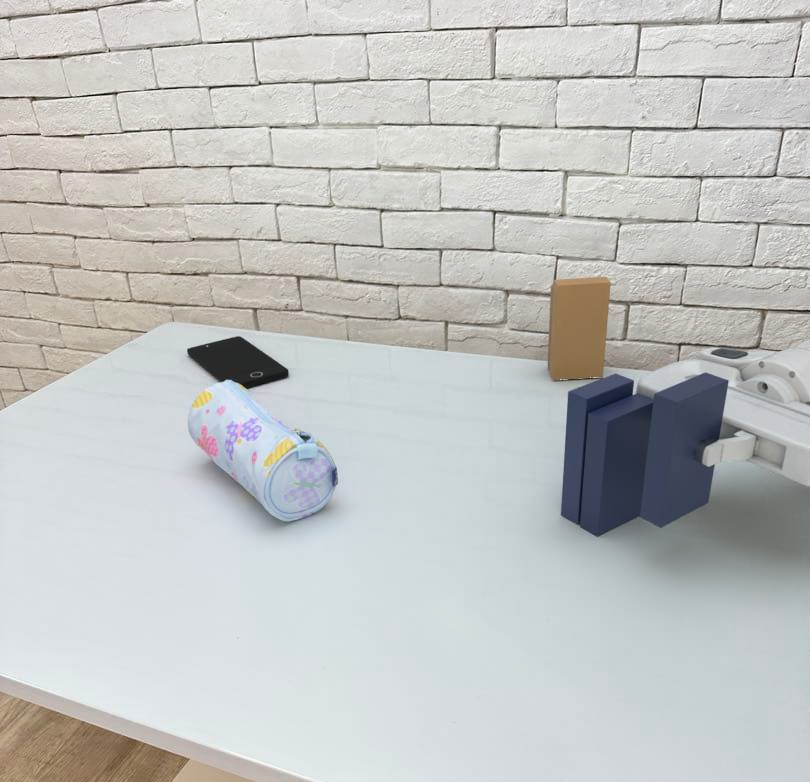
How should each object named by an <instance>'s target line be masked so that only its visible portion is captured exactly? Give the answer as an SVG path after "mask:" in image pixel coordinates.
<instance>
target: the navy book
mask: <svg viewBox="0 0 810 782" xmlns="http://www.w3.org/2000/svg"><path fill="white" fill-rule="evenodd" d="M728 383H729V380H726V379H723V378H720V377H718V376H715V375H712V374H709V373H706V372H705V373H702V374H700V375H698V376H695V377H693V378H691V379H688V380H686V381H683V382H681V383H679V384H676V385H674V386H671V387H669V388H667V389H664V390H662V391H660V392H657V393H655V394H654V400H653V409H652V417H651V426H650V435H649V443H648V452H647V460H646V469H645V478H644V486H643V495H642V503H641V512H640V515H639V517H640V519H642V520H644V521H646V522H649V523H650V524H652V525H654V526H656V527H658V528H660V529H662V528H663V527H666V526H668V525H670V524H671V523H673V522H675V521H677V520H679V519H681V518H682V517H685V516H687V515H688V514H690V513H692V512H694V511H696V510H697V509H699V508H702V507H703V506H705V505H707V504H709V501H710V496H711V490H712V483H713V477H714V471H715V466H716V464H714V465H712V466H710V467H707V466H705V465H703V464H701V463H699V462H697V461H695V460H694V454H695V447H696V445H697V444H698V443H699V442H701V441H704V440H705V439H707V438H711V439H714V440H719V436H720V430H721V424H722V418H723V412H724V406H725V401H726V395H727V389H728Z"/></svg>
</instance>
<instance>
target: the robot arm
mask: <svg viewBox="0 0 810 782" xmlns="http://www.w3.org/2000/svg"><path fill="white" fill-rule="evenodd" d="M705 372H706V373H709V374H712V375H715V376H718V377H720V378H723V379H726V380H729V383H728V389H727V395H726V401H725V406H724V412H723V418H722V424H721V430H720V436H719V440H714V439H711V438H707V439H705V440H704V441H701V442H699V443H698V444H697V445H696V447H695V454H694V460H695V461H697V462H699V463H701V464H703V465H705V466H707V467H710V466H712V465H714V464H715V465H716V464H718V463H734V462H735V463H737V462H739V463H741V462H747V463H750V464H752V465H755V466H756V467H760V468H762V469H765V470H767V471H769V472H772V473H774V474H777V475H778V476H781V477H784V478H786V479H788V480H791V481H793V482H795V483H798V484H799V485H802V486H804V487H810V338H808V339H806V340H805V341H803V342H801V343H800V344H799V345H797V346H795V347H790V348H786V349H782V350H780V351H778V352H777V351H773V350H772V351H771V350H767V351H745V350H738V349H731V348H730V349H729V348H721V347H707V348H705V349H702V350H701V351H700V352H699V355H698V359H697V358H689V359H683V360H679V361H675V362H673V363H670V364H668V365H665V366H663V367H660V368H658V369H655V370H653V371H651V372H649V373H647V374H645V375H643V376H642V377H640V379H639V380H638V381H637V385H636V389H635V394H637V393H638V394H641V395H643V396H646V397H648V398H651V399H653V400H654V394H655V393H657V392H660V391H662V390H664V389H667V388H669V387H671V386H674V385H676V384H679V383H681V382H683V381H686V380H688V379H691V378H693V377H695V376H698V375H700V374H702V373H705Z"/></svg>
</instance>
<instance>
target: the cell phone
mask: <svg viewBox="0 0 810 782" xmlns="http://www.w3.org/2000/svg"><path fill="white" fill-rule="evenodd" d="M186 353H187V355H188V356H190V357H191V358H192V359H193V360H194V361H196V362H197V363H198V364H199V365H201V366H202V367H203V368H204V369H205V370H207V372H209V373H211V375H213V376H214V377H215V378H216V379H217V380H219V382H224V381H225V380H232V381H233V382H236V383H239V384H240V385H242V386H243V387H245V388H246V389H247V388H250V387H255V386H258V385H262V384H265V383H268V382H272V381H277V380H280V379H284V378H286V377H288V376H289V374H290V373H289V369H288V368H287V367H285V366H284V365H282V364H281V362H278V361H277V360H275V359H274V358H272V356H270V355H269V354H266V352H264V351H263V350H261V349H259V348H258V347H257V346H256V345H254V344H252V343H251V342H250V341H248V340H246V339H245V338H244V337H242V336H241V335H237V336H232V337H229V338H224V339H221V340H216V341H212V342H208V343H204V344H200V345H195V346H191V347H188V348H187V349H186Z"/></svg>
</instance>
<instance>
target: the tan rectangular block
mask: <svg viewBox="0 0 810 782" xmlns="http://www.w3.org/2000/svg"><path fill="white" fill-rule="evenodd" d="M611 283H612V282H611V280H610V279H609V278H608V277H607V276H595V277H579V278H562V279H560V278H559V279H553V284H551V285H550V297H549V298H550V301H549V319H548V320H549V321H548V322H549V323H548V324H549V325H548V342H547V343H548V346H547V365H546V367H547V366H548V368H549V370H548V372H549V371H550V372H549V376H550V375H551V376H550V378H552V379H551V380H560V379H562V380H563V379H579V378H581V380H583V379H582V378H590V377H591V378H593V377H603V378H604V367H605V356H606V344H607V331H608V319H609V318H608V317H609V309H610V297H611V296H610V295H611ZM548 368H547V369H548Z"/></svg>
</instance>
